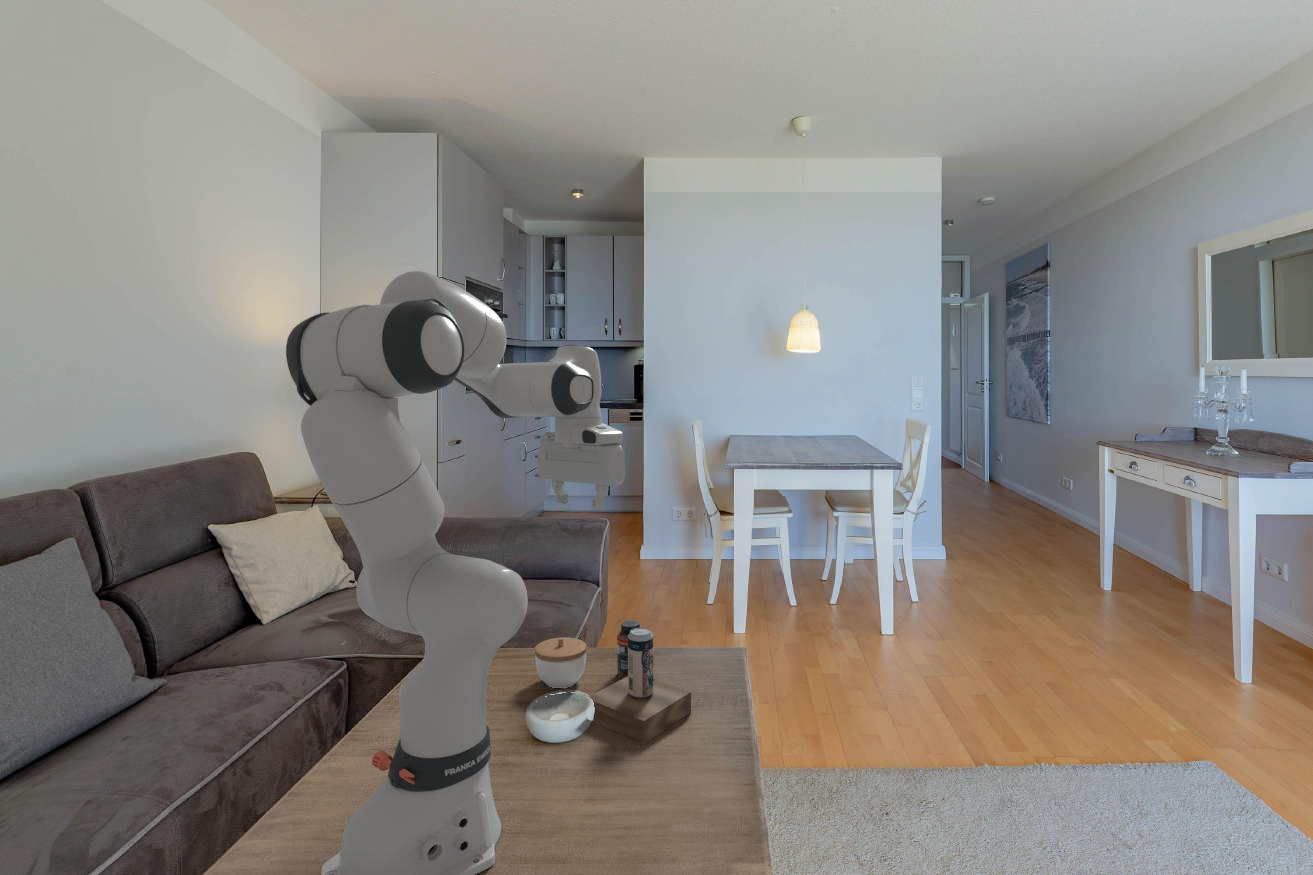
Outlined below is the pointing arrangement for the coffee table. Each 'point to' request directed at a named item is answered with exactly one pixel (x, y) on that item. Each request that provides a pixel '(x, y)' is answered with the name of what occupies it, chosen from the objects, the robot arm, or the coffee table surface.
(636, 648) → the beer can
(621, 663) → the supplement bottle
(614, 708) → the walnut block
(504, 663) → the coffee table surface
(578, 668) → the lidded jar
